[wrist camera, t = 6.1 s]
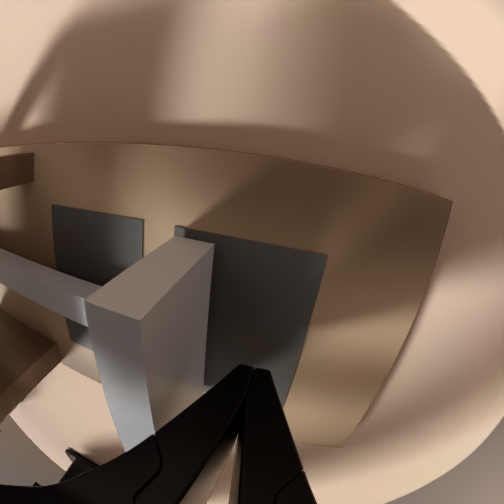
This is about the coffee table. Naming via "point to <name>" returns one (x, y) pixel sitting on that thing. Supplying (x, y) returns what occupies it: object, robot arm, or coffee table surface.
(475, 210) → the coffee table surface
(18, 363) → the walnut tunnel
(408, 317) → the track bed
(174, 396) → the grey flanged bar
